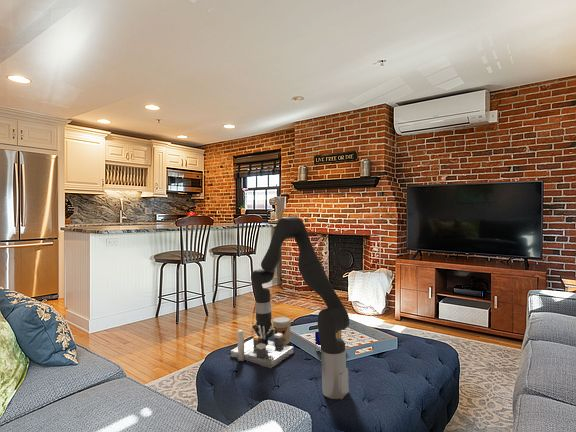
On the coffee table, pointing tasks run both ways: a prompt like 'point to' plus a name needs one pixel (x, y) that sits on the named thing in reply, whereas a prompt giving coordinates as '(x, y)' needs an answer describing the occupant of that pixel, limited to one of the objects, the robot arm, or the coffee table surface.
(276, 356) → the breaker panel
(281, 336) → the toggle
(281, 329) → the coffee cup
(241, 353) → the post
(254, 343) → the toggle
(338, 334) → the puzzle cube
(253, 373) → the coffee table surface
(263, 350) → the toggle
